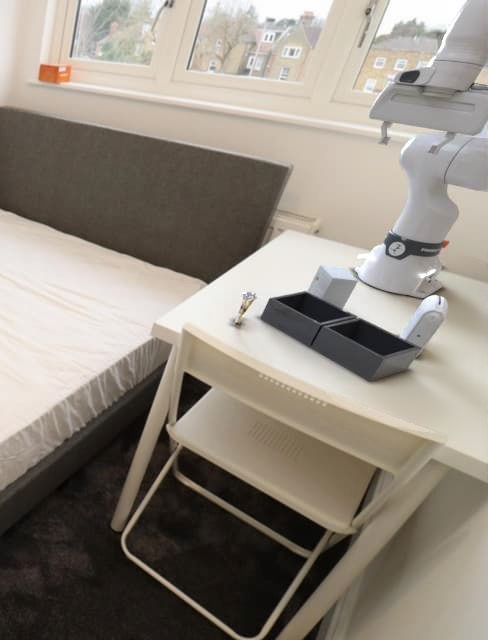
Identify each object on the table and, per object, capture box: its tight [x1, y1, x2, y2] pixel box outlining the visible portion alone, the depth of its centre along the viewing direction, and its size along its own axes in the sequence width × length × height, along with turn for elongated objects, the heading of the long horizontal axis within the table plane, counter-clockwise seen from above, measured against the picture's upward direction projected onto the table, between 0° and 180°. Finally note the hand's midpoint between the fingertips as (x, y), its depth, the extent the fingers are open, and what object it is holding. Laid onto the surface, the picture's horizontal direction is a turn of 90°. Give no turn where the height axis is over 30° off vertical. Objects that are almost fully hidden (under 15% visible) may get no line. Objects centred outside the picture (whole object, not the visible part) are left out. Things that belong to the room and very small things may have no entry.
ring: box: [234, 290, 258, 324], centre depth 118 cm, size 7×3×8 cm, turn 139°
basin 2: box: [310, 317, 422, 382], centre depth 108 cm, size 13×13×6 cm
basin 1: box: [259, 290, 359, 347], centre depth 118 cm, size 13×13×6 cm
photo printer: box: [399, 294, 449, 358], centre depth 111 cm, size 10×4×12 cm, turn 140°
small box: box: [306, 264, 359, 309], centre depth 125 cm, size 8×6×10 cm
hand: (406, 149), depth 113 cm, fingers open, 8 cm apart
